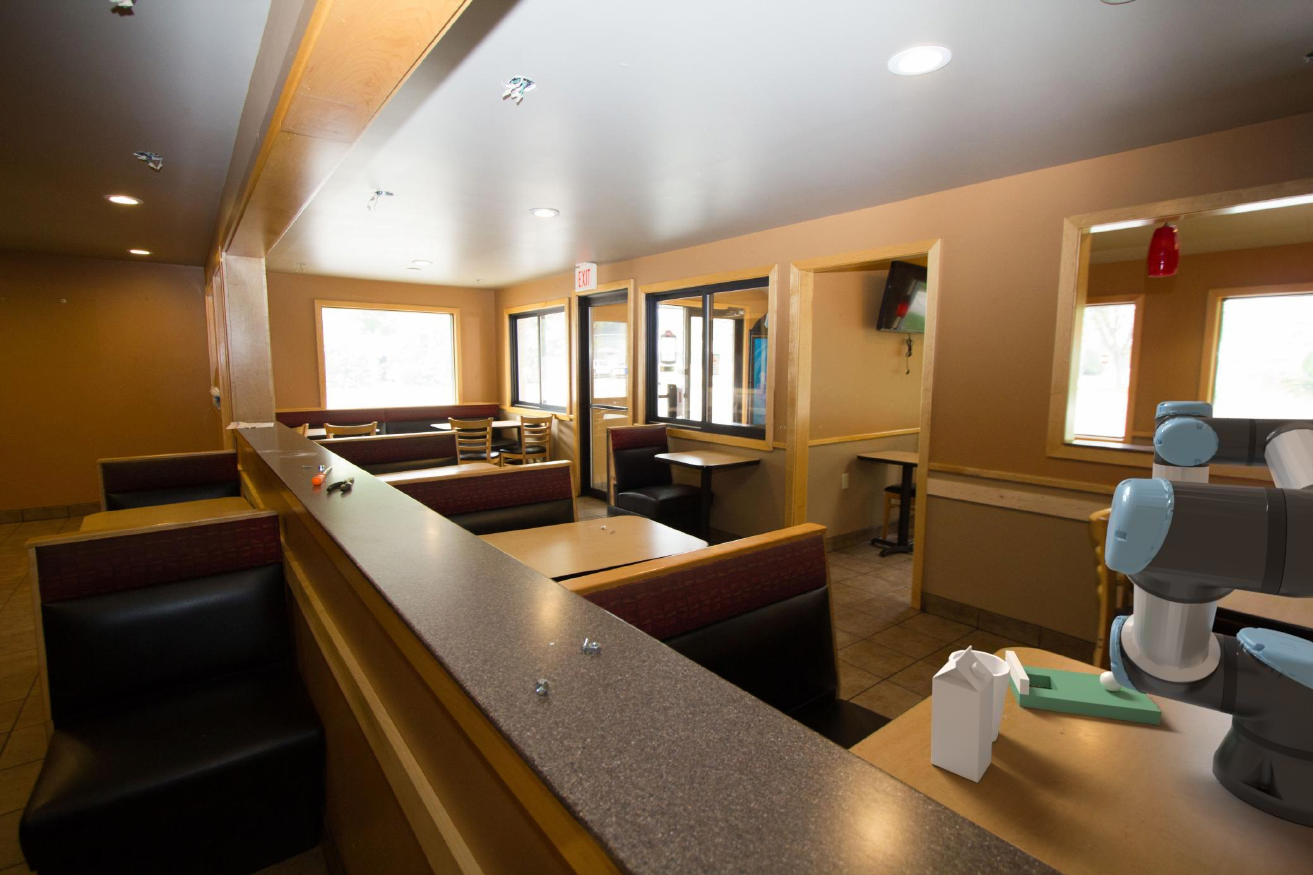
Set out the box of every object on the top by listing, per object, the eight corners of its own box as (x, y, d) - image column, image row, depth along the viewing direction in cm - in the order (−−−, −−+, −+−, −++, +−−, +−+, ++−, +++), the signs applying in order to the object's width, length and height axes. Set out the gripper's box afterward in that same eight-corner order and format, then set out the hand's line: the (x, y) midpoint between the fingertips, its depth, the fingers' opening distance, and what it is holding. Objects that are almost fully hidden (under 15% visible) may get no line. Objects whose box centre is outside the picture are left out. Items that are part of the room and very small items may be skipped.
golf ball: (1125, 696, 111) (1126, 678, 110) (1103, 693, 112) (1104, 675, 111) (1118, 686, 114) (1119, 669, 114) (1096, 684, 115) (1097, 666, 115)
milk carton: (930, 764, 97) (932, 654, 95) (946, 744, 102) (948, 639, 100) (977, 784, 92) (981, 668, 90) (991, 762, 97) (995, 652, 95)
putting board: (1160, 724, 106) (1162, 695, 105) (1019, 706, 113) (1020, 678, 112) (1131, 690, 117) (1132, 663, 116) (1004, 675, 124) (1005, 650, 124)
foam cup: (946, 739, 104) (948, 668, 102) (948, 712, 112) (949, 646, 110) (1009, 754, 99) (1012, 680, 98) (1006, 724, 107) (1008, 656, 106)
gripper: (1224, 485, 107) (1215, 610, 109) (1115, 482, 112) (1109, 601, 115) (1250, 493, 100) (1239, 627, 102) (1132, 490, 105) (1125, 617, 108)
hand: (1170, 613), depth 108 cm, fingers open, 3 cm apart
